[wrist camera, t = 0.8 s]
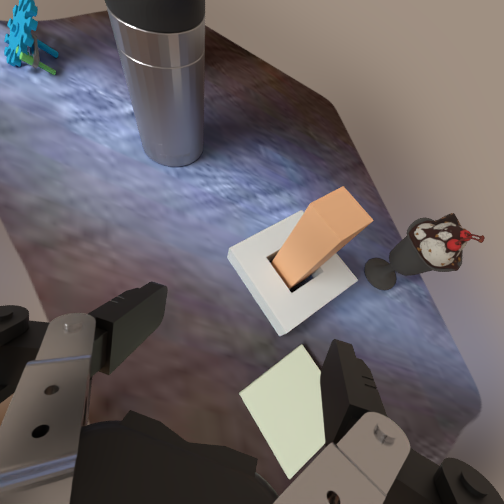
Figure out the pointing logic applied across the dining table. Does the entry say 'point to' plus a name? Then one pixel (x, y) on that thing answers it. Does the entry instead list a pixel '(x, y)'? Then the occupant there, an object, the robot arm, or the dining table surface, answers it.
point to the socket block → (272, 286)
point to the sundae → (422, 251)
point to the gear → (25, 38)
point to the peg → (319, 235)
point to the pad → (289, 409)
